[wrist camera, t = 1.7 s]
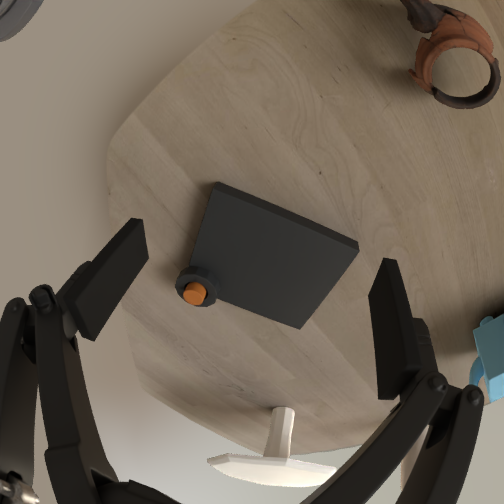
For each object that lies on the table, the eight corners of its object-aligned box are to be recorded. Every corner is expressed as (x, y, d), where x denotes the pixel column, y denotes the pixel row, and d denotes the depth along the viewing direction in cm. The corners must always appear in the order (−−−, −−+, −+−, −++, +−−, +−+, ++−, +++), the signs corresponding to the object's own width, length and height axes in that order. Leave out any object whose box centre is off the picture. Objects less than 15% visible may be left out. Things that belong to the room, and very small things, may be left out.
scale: (181, 279, 42) (172, 296, 39) (211, 178, 32) (200, 192, 29) (297, 324, 43) (295, 343, 40) (358, 241, 33) (361, 260, 30)
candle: (449, 413, 55) (455, 482, 40) (399, 425, 61) (400, 494, 45) (452, 403, 52) (460, 477, 36) (399, 416, 57) (400, 491, 41)
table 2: (224, 369, 54) (201, 448, 41) (365, 391, 52) (364, 469, 38) (222, 419, 71) (207, 474, 58) (324, 435, 68) (318, 490, 55)
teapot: (529, 278, 30) (562, 342, 20) (528, 330, 36) (549, 385, 25) (435, 329, 39) (452, 401, 29) (452, 370, 44) (462, 428, 34)
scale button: (185, 292, 38) (181, 300, 37) (189, 278, 37) (185, 287, 35) (203, 299, 38) (200, 308, 37) (208, 286, 37) (205, 295, 36)
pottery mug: (491, 46, 16) (525, 91, 13) (431, 84, 24) (449, 133, 21) (415, -43, 12) (446, -25, 9) (351, 11, 20) (358, 44, 17)
